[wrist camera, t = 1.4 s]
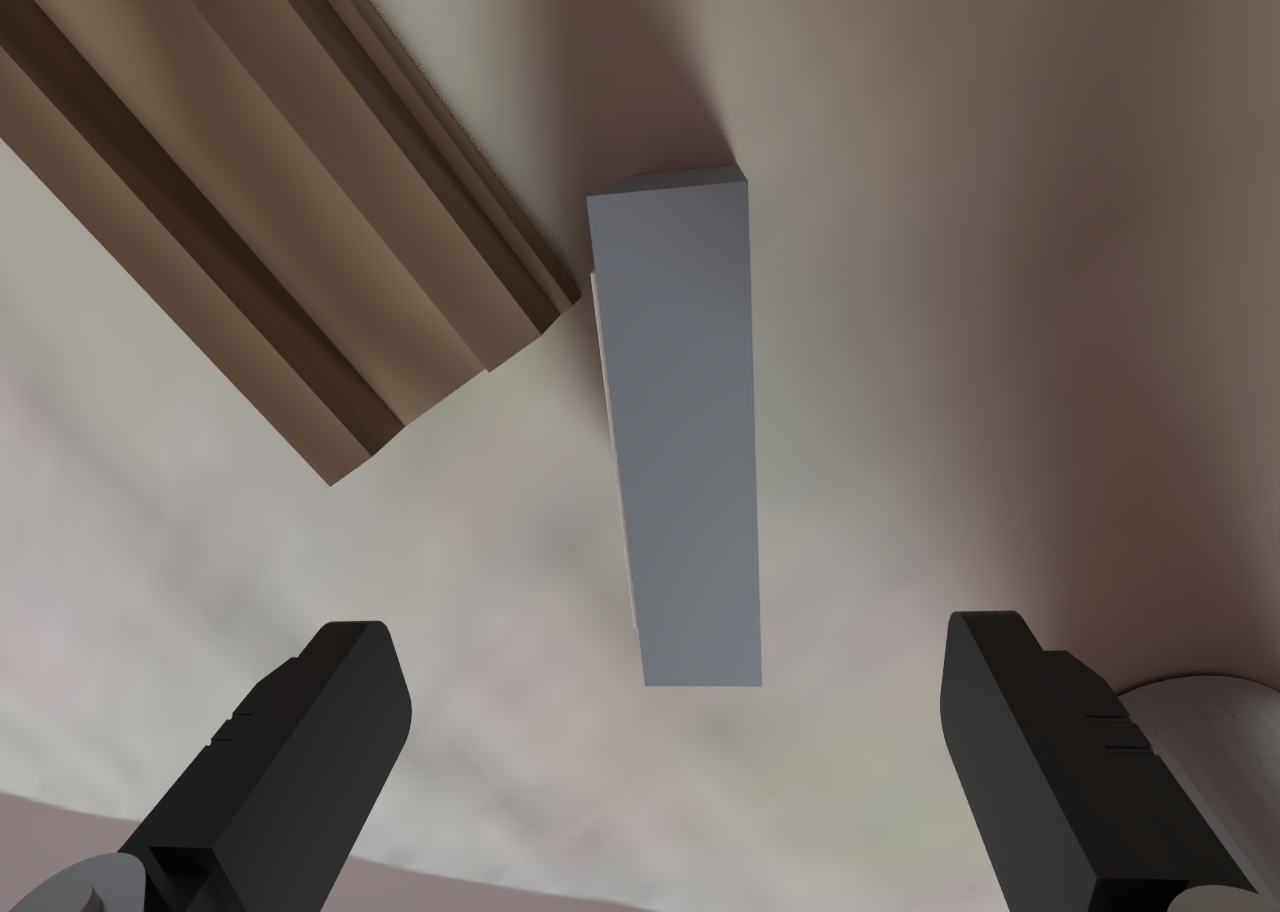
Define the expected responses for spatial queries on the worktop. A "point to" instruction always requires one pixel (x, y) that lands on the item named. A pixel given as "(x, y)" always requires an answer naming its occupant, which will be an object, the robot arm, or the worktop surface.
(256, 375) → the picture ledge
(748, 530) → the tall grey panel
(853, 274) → the worktop surface
